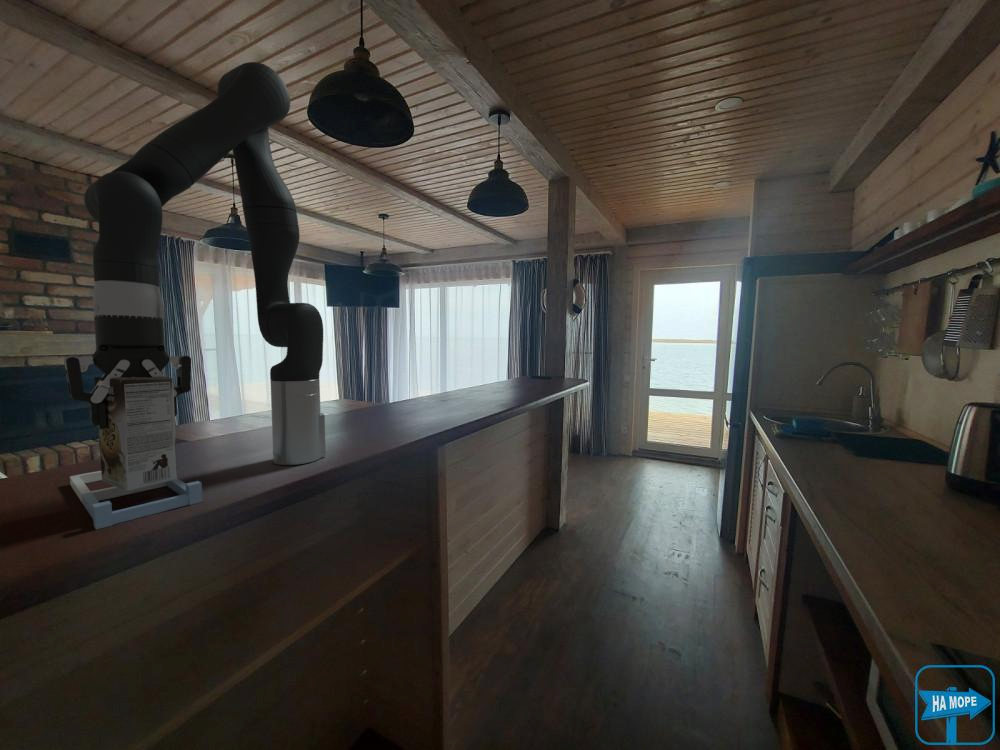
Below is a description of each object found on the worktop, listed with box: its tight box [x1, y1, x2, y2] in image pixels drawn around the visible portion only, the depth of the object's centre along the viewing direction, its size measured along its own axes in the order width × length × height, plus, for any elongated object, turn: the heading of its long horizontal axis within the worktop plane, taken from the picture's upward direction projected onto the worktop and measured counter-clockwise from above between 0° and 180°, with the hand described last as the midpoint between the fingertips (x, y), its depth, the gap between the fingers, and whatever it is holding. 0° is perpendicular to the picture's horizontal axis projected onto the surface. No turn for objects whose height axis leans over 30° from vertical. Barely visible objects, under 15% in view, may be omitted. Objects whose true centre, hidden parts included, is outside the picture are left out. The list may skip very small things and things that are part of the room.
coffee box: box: [93, 376, 178, 491], centre depth 59 cm, size 9×6×16 cm
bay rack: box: [69, 470, 203, 530], centre depth 64 cm, size 12×27×3 cm, turn 53°
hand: (136, 424), depth 59 cm, fingers closed on coffee box, 7 cm apart
